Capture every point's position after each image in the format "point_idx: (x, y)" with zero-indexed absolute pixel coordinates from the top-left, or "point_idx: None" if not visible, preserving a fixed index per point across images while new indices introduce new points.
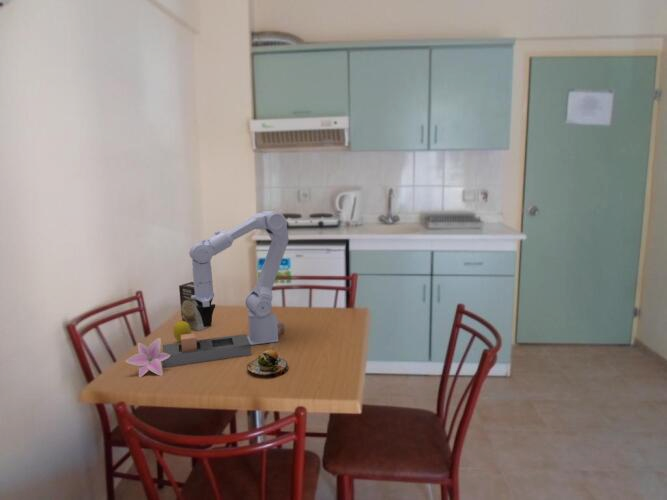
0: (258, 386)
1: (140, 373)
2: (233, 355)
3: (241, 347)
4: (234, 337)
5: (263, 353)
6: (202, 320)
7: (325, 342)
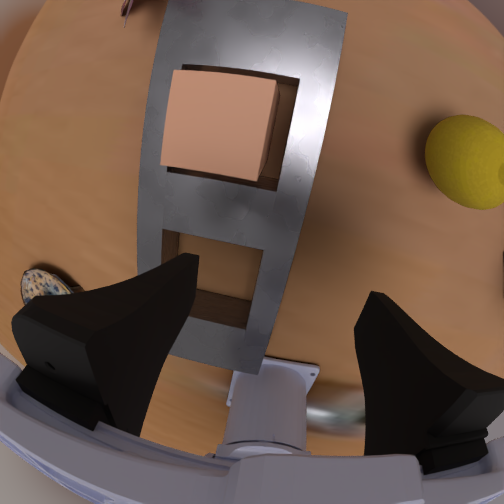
0: (4, 256)
1: None
2: None
3: None
4: (243, 338)
5: None
6: (151, 269)
7: (177, 436)
